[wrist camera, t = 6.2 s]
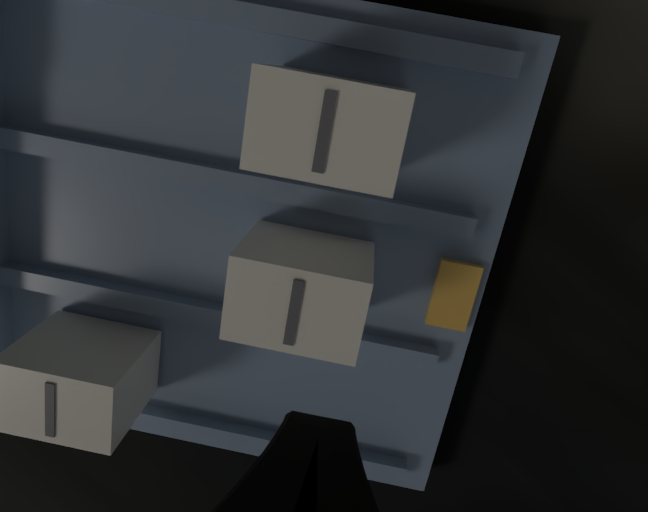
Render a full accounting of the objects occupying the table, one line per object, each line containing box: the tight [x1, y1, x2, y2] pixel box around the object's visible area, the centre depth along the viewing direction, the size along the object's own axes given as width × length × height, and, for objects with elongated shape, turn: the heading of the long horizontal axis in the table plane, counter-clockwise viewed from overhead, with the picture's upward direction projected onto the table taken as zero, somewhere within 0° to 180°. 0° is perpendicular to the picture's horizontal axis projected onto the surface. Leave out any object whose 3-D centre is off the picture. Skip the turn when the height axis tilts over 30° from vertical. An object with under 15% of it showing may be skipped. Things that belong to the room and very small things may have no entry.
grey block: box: [0, 310, 162, 456], centre depth 18 cm, size 3×4×4 cm, turn 80°
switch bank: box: [0, 0, 560, 491], centre depth 18 cm, size 17×18×3 cm
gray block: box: [219, 220, 375, 367], centre depth 16 cm, size 3×4×4 cm, turn 80°
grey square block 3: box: [239, 63, 416, 199], centre depth 15 cm, size 3×4×4 cm, turn 80°
